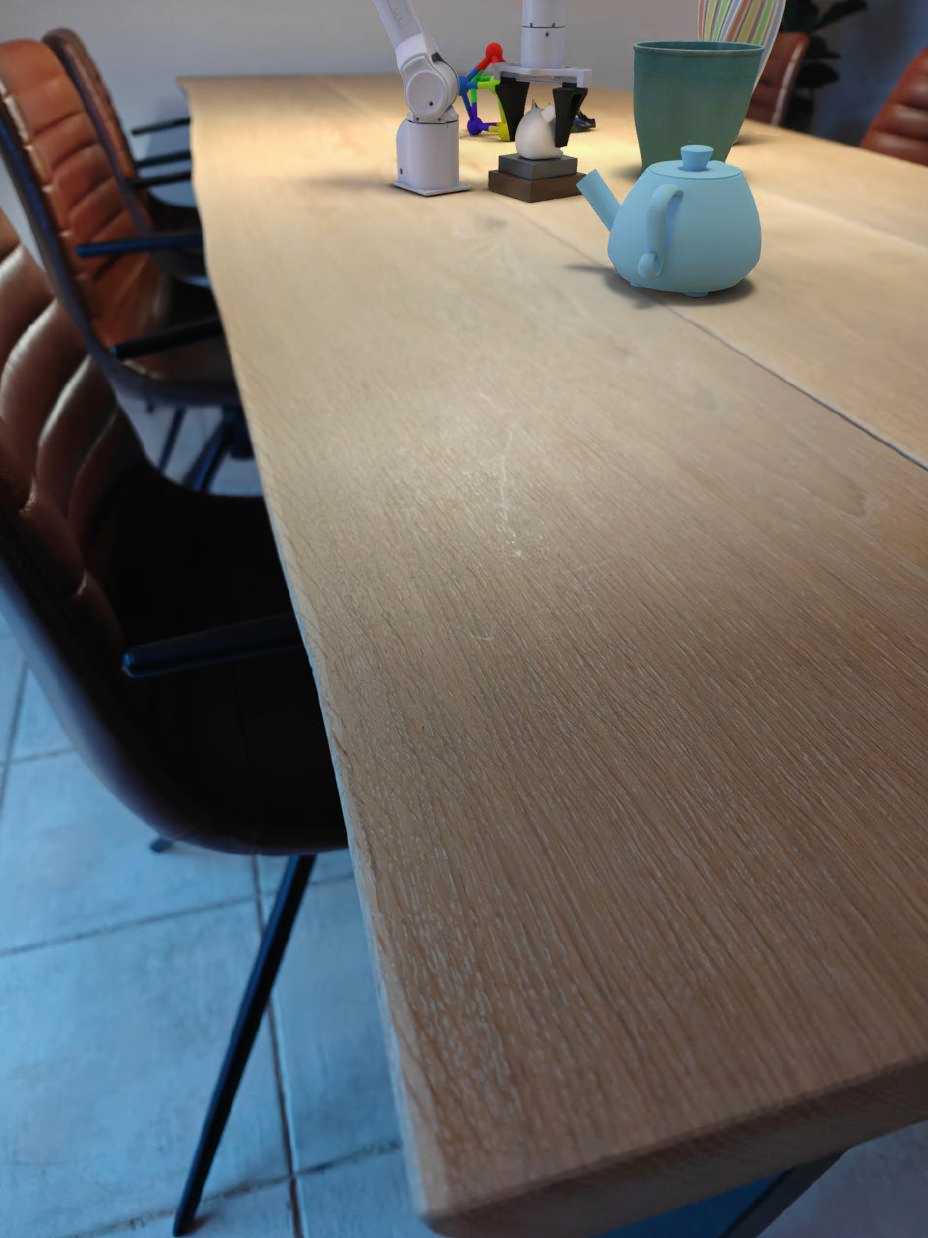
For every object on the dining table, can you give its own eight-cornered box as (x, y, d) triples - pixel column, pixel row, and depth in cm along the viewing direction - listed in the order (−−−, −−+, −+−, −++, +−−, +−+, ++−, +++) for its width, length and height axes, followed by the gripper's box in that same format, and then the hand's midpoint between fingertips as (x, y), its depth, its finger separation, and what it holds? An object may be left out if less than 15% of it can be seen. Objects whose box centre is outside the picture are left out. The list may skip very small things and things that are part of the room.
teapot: (717, 320, 82) (743, 172, 75) (530, 286, 91) (536, 150, 83) (778, 268, 95) (805, 137, 88) (610, 243, 104) (621, 122, 96)
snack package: (585, 123, 175) (527, 122, 174) (590, 87, 170) (531, 86, 169) (597, 145, 167) (537, 144, 165) (603, 108, 162) (541, 107, 161)
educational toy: (458, 136, 169) (458, 42, 161) (525, 137, 168) (529, 43, 160) (448, 141, 156) (448, 40, 148) (521, 142, 155) (525, 40, 147)
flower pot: (666, 160, 144) (681, 36, 133) (764, 176, 133) (789, 43, 123) (597, 177, 134) (607, 44, 123) (697, 195, 123) (718, 52, 113)
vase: (768, 140, 158) (807, -72, 140) (744, 152, 149) (782, -73, 131) (697, 133, 164) (725, -70, 146) (669, 144, 155) (696, -71, 137)
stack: (487, 189, 127) (488, 154, 124) (542, 181, 132) (543, 147, 129) (530, 202, 120) (531, 166, 118) (585, 193, 125) (588, 158, 122)
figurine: (570, 159, 121) (573, 104, 117) (526, 162, 120) (528, 107, 116) (548, 149, 127) (550, 97, 123) (506, 152, 126) (507, 99, 122)
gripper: (480, 25, 115) (479, 141, 123) (574, 30, 108) (566, 153, 116) (511, 22, 119) (508, 135, 128) (603, 27, 112) (594, 145, 121)
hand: (538, 143), depth 122 cm, fingers closed on figurine, 7 cm apart
